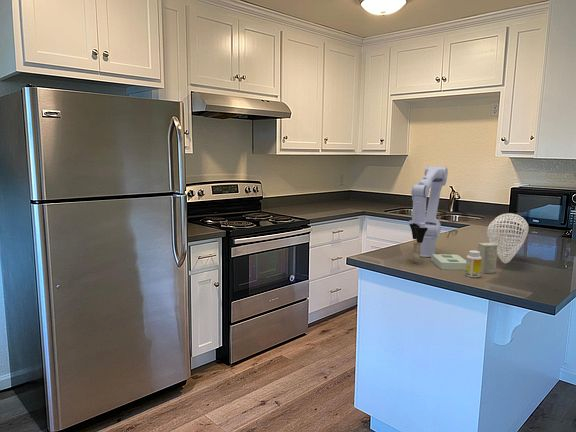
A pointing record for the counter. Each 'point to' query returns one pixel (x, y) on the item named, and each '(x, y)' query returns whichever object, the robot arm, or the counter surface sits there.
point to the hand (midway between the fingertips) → (417, 240)
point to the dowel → (416, 253)
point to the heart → (517, 247)
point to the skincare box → (488, 257)
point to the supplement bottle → (473, 264)
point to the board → (449, 261)
